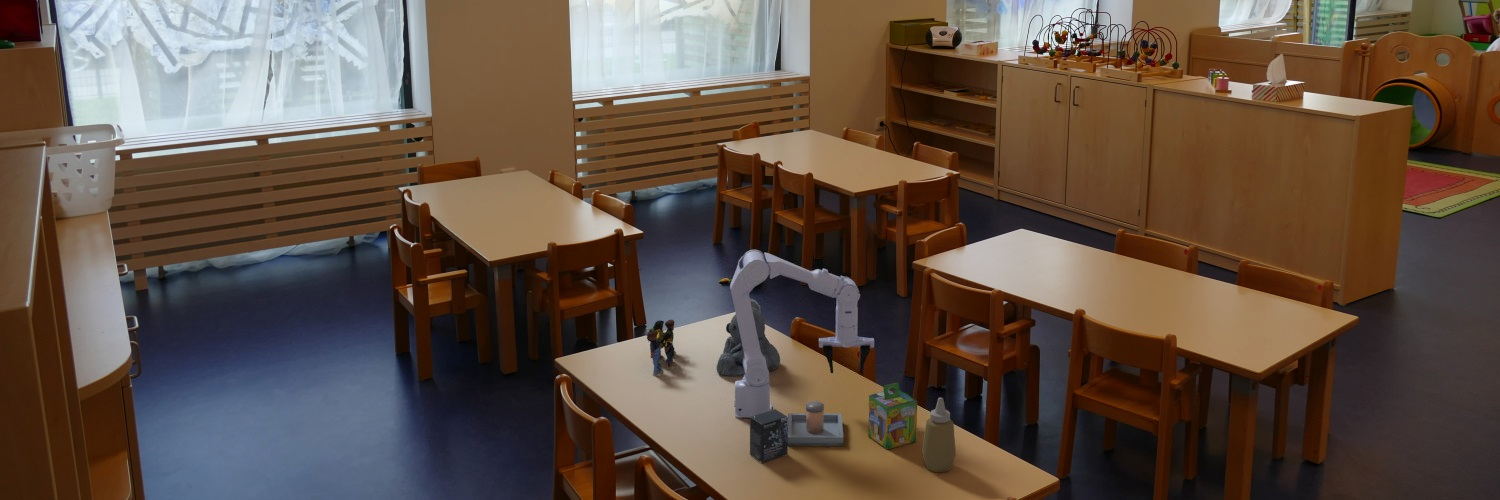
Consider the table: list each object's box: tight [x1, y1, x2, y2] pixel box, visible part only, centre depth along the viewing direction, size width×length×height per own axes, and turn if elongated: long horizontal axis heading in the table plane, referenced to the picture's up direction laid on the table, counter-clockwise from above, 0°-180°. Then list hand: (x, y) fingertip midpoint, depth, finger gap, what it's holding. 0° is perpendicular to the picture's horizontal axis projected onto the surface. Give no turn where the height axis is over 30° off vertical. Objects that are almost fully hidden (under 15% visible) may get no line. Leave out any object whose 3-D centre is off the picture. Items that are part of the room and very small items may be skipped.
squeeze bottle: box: [921, 397, 957, 473], centre depth 280 cm, size 8×8×18 cm
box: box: [749, 408, 789, 464], centre depth 288 cm, size 8×6×11 cm
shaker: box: [805, 400, 825, 434], centre depth 300 cm, size 5×5×7 cm
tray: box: [787, 412, 844, 447], centre depth 301 cm, size 14×14×2 cm
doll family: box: [645, 319, 678, 377], centre depth 345 cm, size 23×9×13 cm, turn 6°
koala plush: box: [716, 298, 781, 377], centre depth 341 cm, size 17×18×20 cm
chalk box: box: [867, 382, 918, 450], centre depth 295 cm, size 9×9×15 cm
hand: (846, 371), depth 313 cm, fingers open, 7 cm apart
